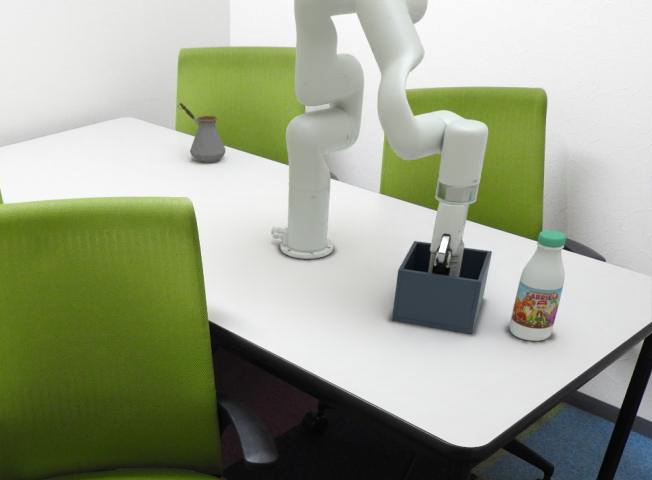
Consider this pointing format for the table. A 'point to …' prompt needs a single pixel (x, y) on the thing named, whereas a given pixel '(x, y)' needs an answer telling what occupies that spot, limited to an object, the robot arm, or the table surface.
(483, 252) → the open storage box
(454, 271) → the energy drink can
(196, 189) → the table surface
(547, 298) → the milk bottle
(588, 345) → the table surface
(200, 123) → the coffee pot
